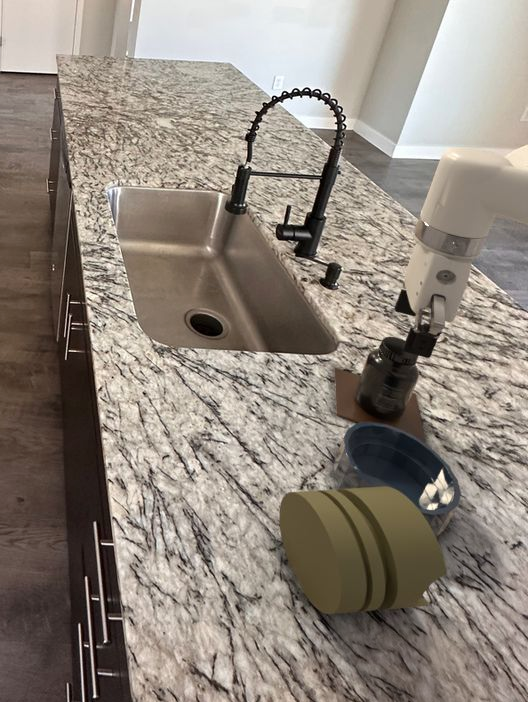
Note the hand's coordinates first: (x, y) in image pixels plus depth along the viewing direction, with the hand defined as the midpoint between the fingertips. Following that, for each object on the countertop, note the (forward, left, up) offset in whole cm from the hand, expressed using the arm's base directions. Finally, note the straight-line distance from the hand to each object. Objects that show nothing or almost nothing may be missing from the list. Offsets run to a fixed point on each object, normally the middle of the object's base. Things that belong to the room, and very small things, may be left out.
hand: (410, 332), depth 81 cm
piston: (+6, +31, -16) cm, 35 cm away
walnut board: (0, 0, -16) cm, 16 cm away
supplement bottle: (0, 0, -15) cm, 15 cm away
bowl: (0, +16, -16) cm, 22 cm away
